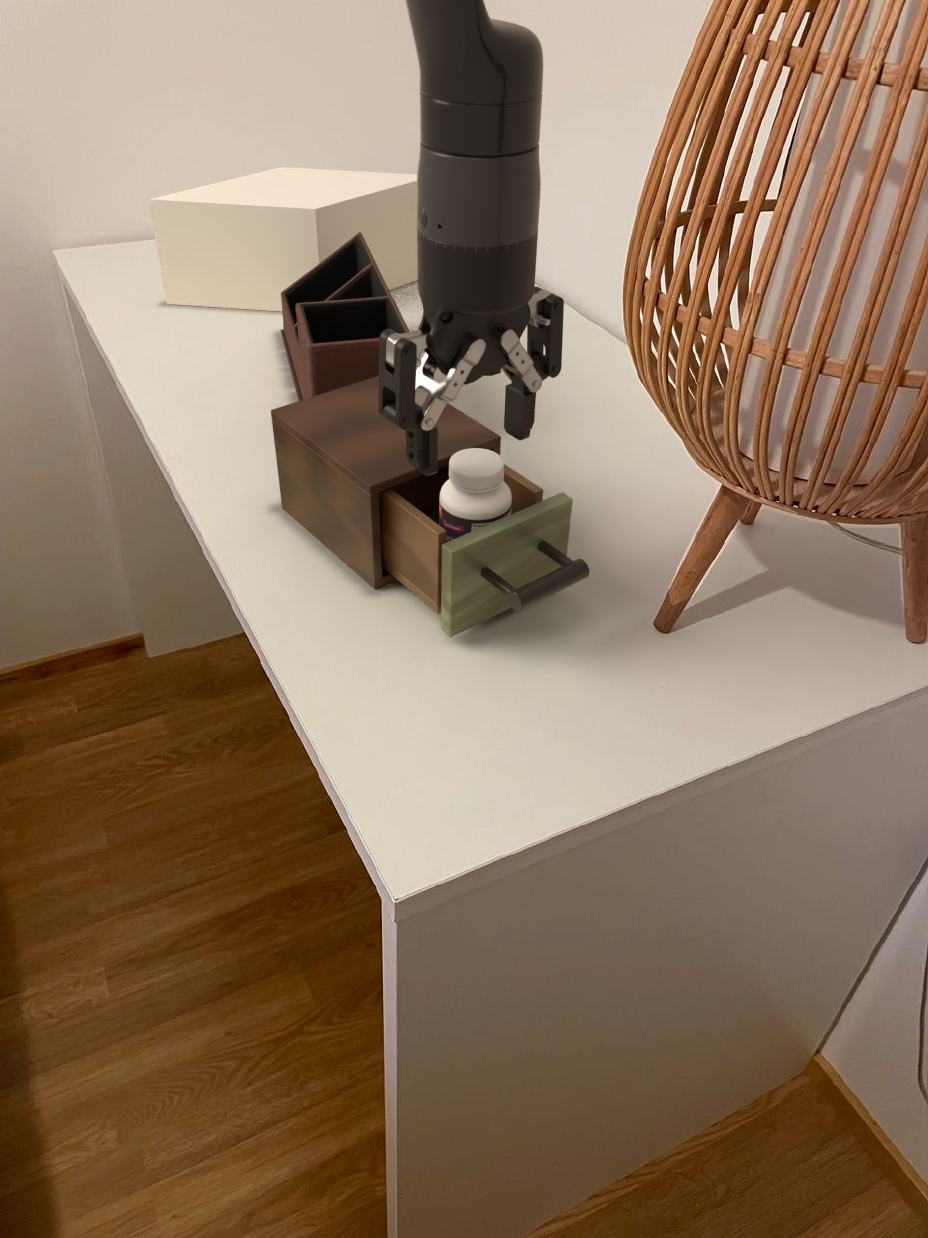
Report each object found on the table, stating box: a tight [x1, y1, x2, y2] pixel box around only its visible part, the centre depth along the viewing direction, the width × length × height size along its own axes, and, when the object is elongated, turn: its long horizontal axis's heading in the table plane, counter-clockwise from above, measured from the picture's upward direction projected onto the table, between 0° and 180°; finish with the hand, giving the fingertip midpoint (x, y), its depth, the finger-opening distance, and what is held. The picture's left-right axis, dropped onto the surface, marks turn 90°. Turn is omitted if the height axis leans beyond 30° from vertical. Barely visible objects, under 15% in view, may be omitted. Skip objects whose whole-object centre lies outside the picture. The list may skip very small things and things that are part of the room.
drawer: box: [378, 463, 591, 638], centre depth 75 cm, size 18×11×8 cm, turn 38°
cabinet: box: [270, 376, 502, 590], centre depth 82 cm, size 15×13×10 cm
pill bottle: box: [439, 448, 512, 542], centre depth 73 cm, size 5×5×10 cm
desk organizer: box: [279, 232, 411, 402], centre depth 101 cm, size 10×29×11 cm, turn 14°
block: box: [148, 166, 418, 312], centre depth 121 cm, size 18×35×12 cm, turn 110°
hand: (472, 452), depth 70 cm, fingers open, 8 cm apart
